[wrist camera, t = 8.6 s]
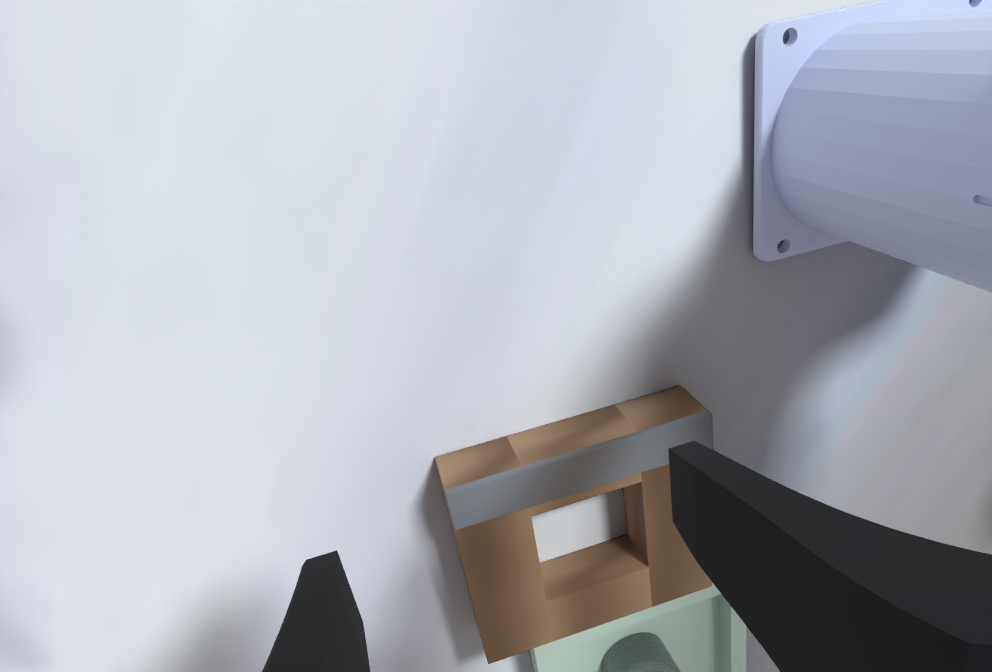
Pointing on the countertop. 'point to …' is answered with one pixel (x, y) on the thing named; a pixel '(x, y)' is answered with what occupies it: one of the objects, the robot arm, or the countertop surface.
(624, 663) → the pin
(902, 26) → the robot arm
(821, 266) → the countertop surface
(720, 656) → the tray
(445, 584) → the countertop surface
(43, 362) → the countertop surface
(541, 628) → the block
